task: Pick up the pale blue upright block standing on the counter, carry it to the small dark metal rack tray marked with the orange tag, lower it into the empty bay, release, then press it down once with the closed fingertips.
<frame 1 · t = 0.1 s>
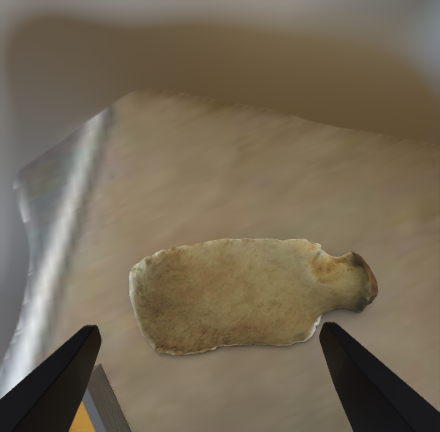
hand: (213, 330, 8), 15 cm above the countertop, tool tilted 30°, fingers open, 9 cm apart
rack: (84, 419, 21), on the countertop
stone tool: (250, 288, 24), on the countertop
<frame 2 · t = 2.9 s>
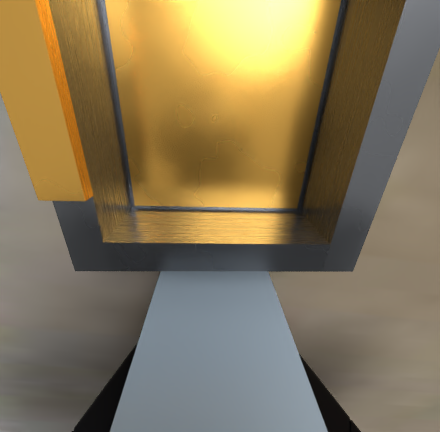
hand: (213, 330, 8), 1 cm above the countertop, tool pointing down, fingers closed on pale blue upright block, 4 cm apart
rack: (220, 97, 6), on the countertop
pale blue upright block: (213, 305, 10), on the countertop, touching gripper
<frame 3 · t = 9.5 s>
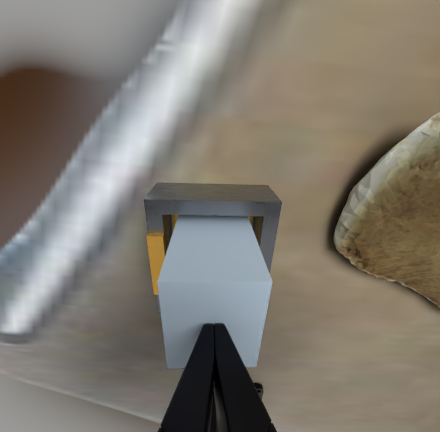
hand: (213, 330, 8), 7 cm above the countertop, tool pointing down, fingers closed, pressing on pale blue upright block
rack: (212, 238, 15), on the countertop
pale blue upright block: (212, 246, 14), point 1 cm above the countertop, touching gripper, rack
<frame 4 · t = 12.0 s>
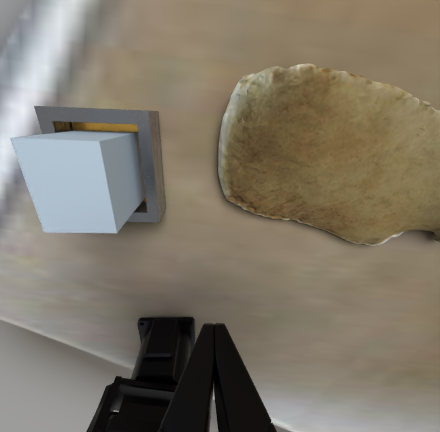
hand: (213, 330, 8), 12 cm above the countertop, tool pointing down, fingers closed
rack: (120, 163, 17), on the countertop
stone tool: (350, 174, 19), on the countertop
pale blue upright block: (115, 165, 16), point 1 cm above the countertop, touching rack
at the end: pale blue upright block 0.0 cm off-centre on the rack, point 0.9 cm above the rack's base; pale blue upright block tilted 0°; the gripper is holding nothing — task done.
